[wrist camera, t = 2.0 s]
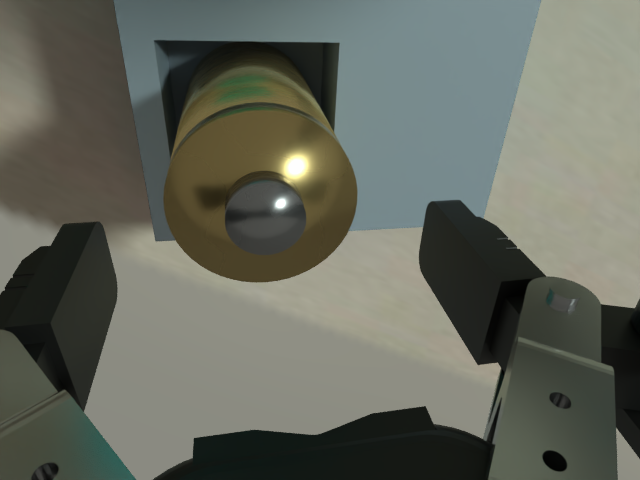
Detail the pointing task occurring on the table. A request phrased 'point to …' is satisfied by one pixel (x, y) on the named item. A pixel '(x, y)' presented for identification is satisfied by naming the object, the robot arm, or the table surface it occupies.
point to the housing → (351, 87)
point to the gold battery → (256, 169)
